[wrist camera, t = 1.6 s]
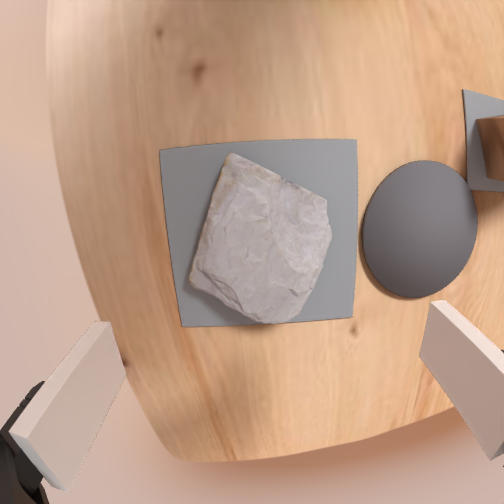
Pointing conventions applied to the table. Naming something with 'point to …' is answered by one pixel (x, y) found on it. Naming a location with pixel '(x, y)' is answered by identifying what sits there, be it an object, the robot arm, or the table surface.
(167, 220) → the tile
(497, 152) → the walnut block
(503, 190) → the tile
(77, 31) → the table surface
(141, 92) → the table surface
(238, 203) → the stone
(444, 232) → the coaster
